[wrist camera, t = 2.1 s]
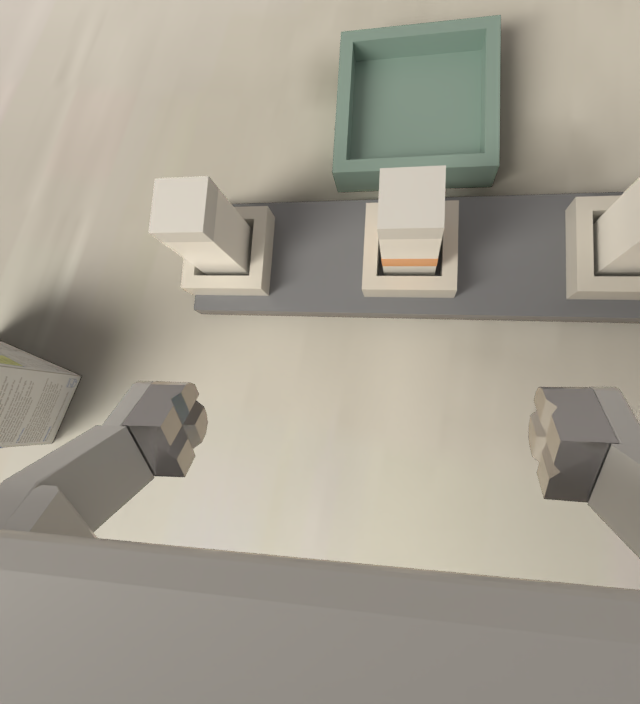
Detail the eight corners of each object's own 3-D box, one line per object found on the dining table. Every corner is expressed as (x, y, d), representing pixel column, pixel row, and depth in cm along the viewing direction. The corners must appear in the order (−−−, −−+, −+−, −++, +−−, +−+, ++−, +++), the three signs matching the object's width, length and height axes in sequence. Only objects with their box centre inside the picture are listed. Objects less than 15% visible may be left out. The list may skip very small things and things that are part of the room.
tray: (491, 186, 34) (499, 165, 31) (338, 192, 37) (332, 172, 34) (492, 47, 36) (500, 14, 33) (346, 61, 38) (341, 31, 35)
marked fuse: (434, 278, 33) (444, 228, 24) (384, 278, 33) (376, 229, 25) (435, 231, 33) (446, 165, 24) (386, 232, 34) (379, 167, 25)
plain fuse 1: (252, 277, 35) (202, 232, 27) (210, 277, 36) (148, 233, 27) (256, 234, 36) (208, 175, 27) (214, 235, 36) (154, 178, 28)
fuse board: (660, 323, 31) (692, 311, 27) (199, 314, 37) (178, 303, 34) (656, 201, 32) (686, 175, 28) (209, 213, 39) (190, 193, 35)
